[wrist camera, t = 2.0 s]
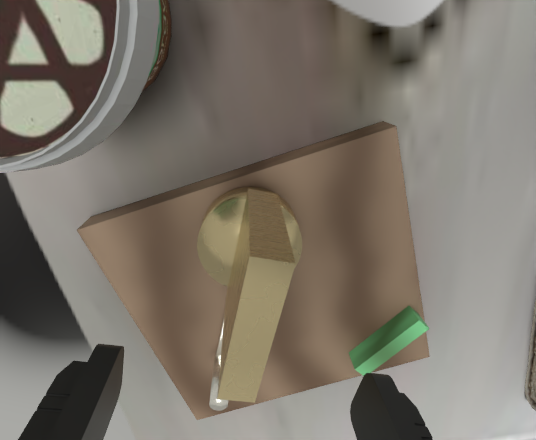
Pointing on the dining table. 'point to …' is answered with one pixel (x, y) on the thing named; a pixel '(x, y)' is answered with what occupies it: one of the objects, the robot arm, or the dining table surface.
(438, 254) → the dining table surface
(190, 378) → the dial board
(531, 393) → the washcloth
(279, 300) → the tan bar with dome
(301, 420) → the dining table surface
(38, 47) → the food container
